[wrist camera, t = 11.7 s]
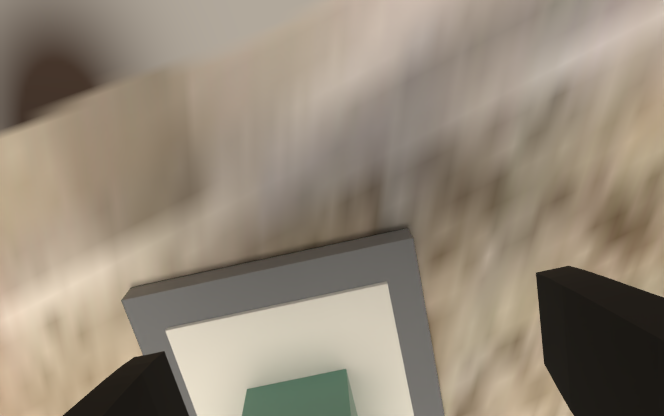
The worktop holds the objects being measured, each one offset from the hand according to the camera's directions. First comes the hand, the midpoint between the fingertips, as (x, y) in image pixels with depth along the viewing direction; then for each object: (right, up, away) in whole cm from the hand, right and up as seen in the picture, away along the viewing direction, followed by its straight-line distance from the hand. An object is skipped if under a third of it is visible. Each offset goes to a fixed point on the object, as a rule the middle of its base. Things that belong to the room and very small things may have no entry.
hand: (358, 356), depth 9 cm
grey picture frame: (-2, -5, +11) cm, 13 cm away
